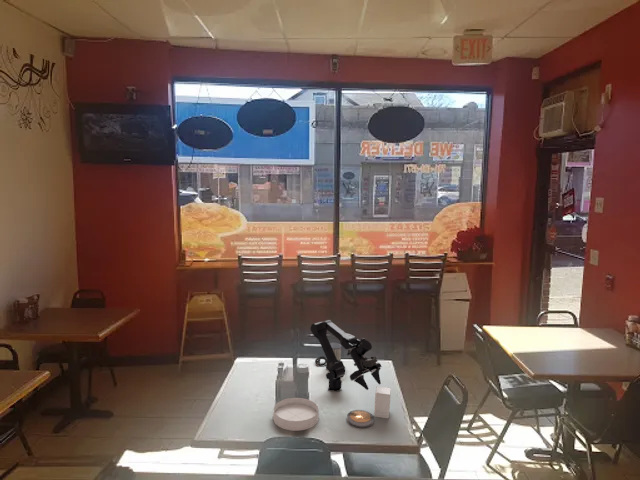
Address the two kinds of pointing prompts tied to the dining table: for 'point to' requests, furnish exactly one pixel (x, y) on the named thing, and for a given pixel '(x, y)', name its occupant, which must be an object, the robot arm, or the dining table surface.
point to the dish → (295, 414)
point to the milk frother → (337, 352)
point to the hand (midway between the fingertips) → (374, 386)
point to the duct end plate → (360, 418)
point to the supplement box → (382, 402)
